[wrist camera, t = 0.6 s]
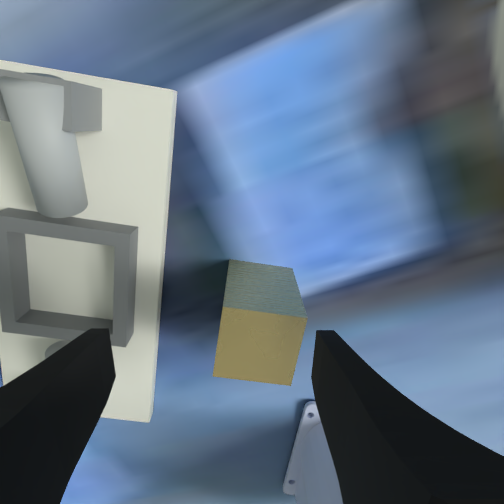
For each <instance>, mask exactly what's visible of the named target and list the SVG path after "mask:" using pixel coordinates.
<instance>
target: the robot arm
mask: <svg viewBox="0 0 504 504" xmlns="http://www.w3.org/2000/svg"><path fill="white" fill-rule="evenodd" d="M115 378H116V372H115V366H114V359H113V353H112V346H111V340H110V333H109V328H91V329H89V330H87V331H86V332H84V333H83V334H81V335H80V336H78V337H77V338H75V339H74V340H72V341H71V342H69V343H68V344H67V345H65V346H64V347H62V348H61V349H59V350H58V351H56V352H55V353H53V354H52V355H51V356H49V357H48V358H46V359H45V360H43V361H42V362H40V363H39V364H37V365H36V366H34V367H32V368H31V369H29V370H28V371H26V372H25V373H23V374H21V375H20V376H18V377H17V378H15V379H14V380H12V381H10V382H9V383H7V384H5V385H4V386H2V387H0V504H60V502H61V499H62V497H63V494H64V492H65V489H66V487H67V484H68V482H69V480H70V477H71V475H72V473H73V471H74V469H75V467H76V465H77V463H78V461H79V459H80V457H81V455H82V453H83V451H84V449H85V447H86V445H87V443H88V441H89V439H90V437H91V435H92V433H93V431H94V429H95V427H96V425H97V422H98V420H99V418H100V416H101V414H102V412H103V410H104V408H105V406H106V404H107V401H108V398H109V396H110V393H111V390H112V387H113V384H114V381H115ZM311 378H312V384H313V390H314V396H315V401H316V402H315V401H309V402H307V403H306V404H305V406H304V410H303V413H302V417H301V421H300V424H299V428H298V432H297V435H296V439H295V443H294V446H293V450H292V454H291V457H290V461H289V465H288V469H287V472H286V476H285V480H284V483H283V492H284V493H285V494H288V495H295V498H296V504H504V456H502V455H500V454H498V453H496V452H494V451H492V450H490V449H488V448H487V447H485V446H483V445H481V444H479V443H477V442H475V441H474V440H472V439H470V438H468V437H467V436H465V435H463V434H461V433H460V432H458V431H456V430H454V429H453V428H451V427H450V426H448V425H447V424H445V423H443V422H442V421H440V420H439V419H437V418H435V417H434V416H432V415H431V414H429V413H428V412H426V411H425V410H423V409H422V408H421V407H419V406H418V405H416V404H415V403H414V402H412V401H411V400H410V399H408V398H407V397H406V396H404V395H403V394H402V393H400V392H399V391H398V390H397V389H395V388H394V387H393V386H392V385H391V384H389V383H388V382H387V381H386V380H385V379H383V378H382V377H381V376H380V375H379V374H378V373H377V372H375V371H374V370H373V369H372V368H371V367H370V366H369V365H368V364H367V363H366V362H365V361H364V360H363V359H362V358H361V357H360V356H359V355H358V354H357V353H356V352H355V351H354V350H353V349H352V348H351V347H350V346H349V345H348V344H347V343H346V342H345V341H344V340H343V339H342V338H341V337H340V336H339V335H338V334H337V333H336V332H335V331H334V330H317V331H316V340H315V349H314V358H313V367H312V376H311ZM308 413H311V414H308Z"/></svg>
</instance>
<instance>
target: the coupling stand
mask: <svg viewBox="0 0 504 504" xmlns="http://www.w3.org/2000/svg"><path fill="white" fill-rule="evenodd" d="M176 102H177V91H174V90H171V89H165V88H159V87H153V86H148V85H142V84H136V83H130V82H125V81H119V80H113V79H107V78H101V77H96V76H90V75H84V74H78V73H73V72H67V71H61V70H55V69H50V68H44V67H38V66H32V65H27V64H21V63H15V62H9V61H4V60H0V361H1V369H2V378H3V386H4V385H5V384H7V383H9V382H10V381H12V380H14V379H15V378H17V377H18V376H20V375H21V374H23V373H25V372H26V371H28V370H29V369H31V368H32V367H34V366H36V365H37V364H39V363H40V362H42V361H43V360H45V359H46V358H48V357H49V356H51V355H52V354H53V353H55V352H56V351H58V350H59V349H61V348H62V347H64V346H65V345H67V344H68V343H69V342H71V341H72V340H74V339H75V338H77V337H78V336H80V335H81V334H83V333H84V332H86V331H87V330H89V329H91V328H109V333H110V340H111V346H112V353H113V359H114V366H115V372H116V378H115V381H114V384H113V387H112V390H111V393H110V396H109V398H108V401H107V404H106V406H105V408H104V410H103V412H102V414H101V416H100V417H103V418H112V419H121V420H130V421H138V422H147V423H149V422H150V419H151V416H152V413H153V404H154V391H155V378H156V365H157V352H158V339H159V325H160V312H161V299H162V286H163V273H164V260H165V246H166V233H167V220H168V207H169V194H170V181H171V167H172V154H173V141H174V128H175V115H176Z"/></svg>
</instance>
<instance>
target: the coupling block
mask: <svg viewBox="0 0 504 504" xmlns="http://www.w3.org/2000/svg"><path fill="white" fill-rule="evenodd" d="M306 322H307V315H306V312H305V308H304V305H303V302H302V299H301V295H300V292H299V289H298V285H297V282H296V279H295V276H294V272H293V269H292V268H287V267H280V266H273V265H266V264H259V263H252V262H245V261H238V260H231V259H230V260H229V266H228V273H227V280H226V287H225V294H224V301H223V307H222V314H221V321H220V328H219V335H218V342H217V349H216V356H215V364H214V371H213V376H214V377H223V378H231V379H239V380H247V381H256V382H264V383H272V384H280V385H289V386H291V383H292V379H293V375H294V371H295V367H296V363H297V359H298V355H299V351H300V347H301V343H302V338H303V334H304V330H305V326H306Z"/></svg>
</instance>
